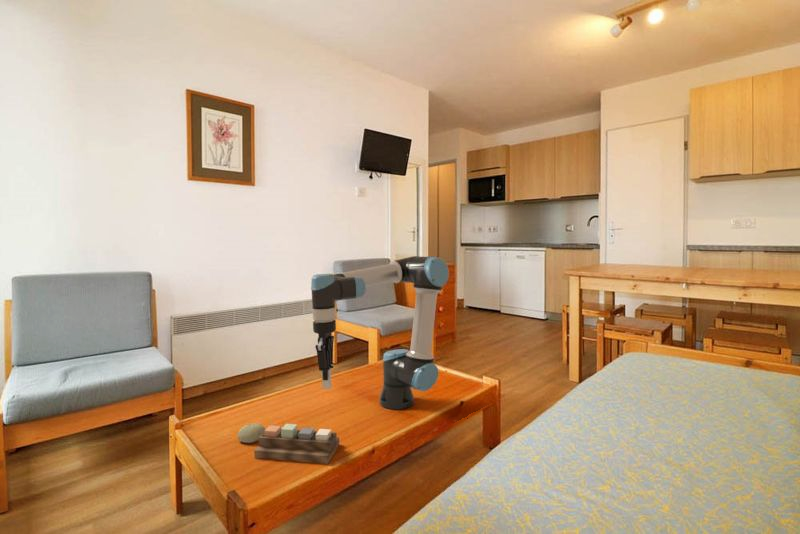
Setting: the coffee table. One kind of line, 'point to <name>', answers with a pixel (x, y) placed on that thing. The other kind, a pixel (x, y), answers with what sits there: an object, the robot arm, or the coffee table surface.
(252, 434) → the sea urchin shell
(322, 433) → the ivory key
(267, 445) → the brown stepped piece
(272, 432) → the terracotta key
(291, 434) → the sage key
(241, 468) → the coffee table surface
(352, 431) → the coffee table surface
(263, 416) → the coffee table surface
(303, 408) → the coffee table surface
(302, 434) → the slate key
